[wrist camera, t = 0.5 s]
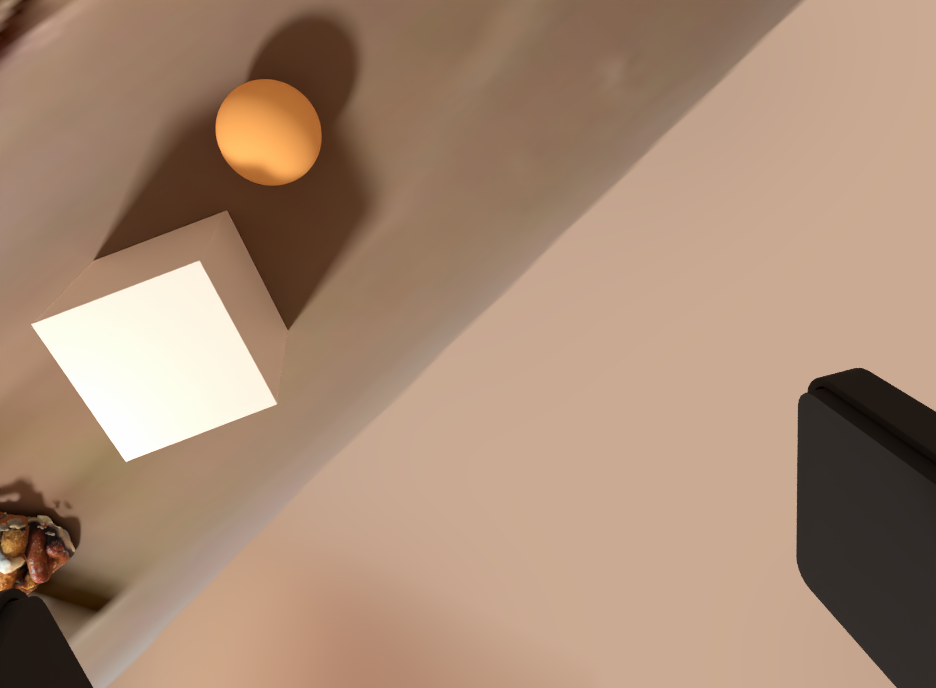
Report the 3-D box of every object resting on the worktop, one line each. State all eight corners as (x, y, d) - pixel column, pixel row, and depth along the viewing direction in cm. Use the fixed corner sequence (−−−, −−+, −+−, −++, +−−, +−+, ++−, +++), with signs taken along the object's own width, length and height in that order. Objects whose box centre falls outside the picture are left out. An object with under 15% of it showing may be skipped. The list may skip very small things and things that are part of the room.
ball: (205, 95, 36) (187, 107, 32) (298, 60, 36) (293, 67, 32) (250, 187, 38) (239, 211, 34) (337, 155, 39) (337, 173, 34)
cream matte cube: (92, 260, 39) (31, 324, 31) (227, 210, 39) (199, 260, 31) (164, 377, 42) (126, 461, 34) (288, 330, 42) (277, 403, 34)
